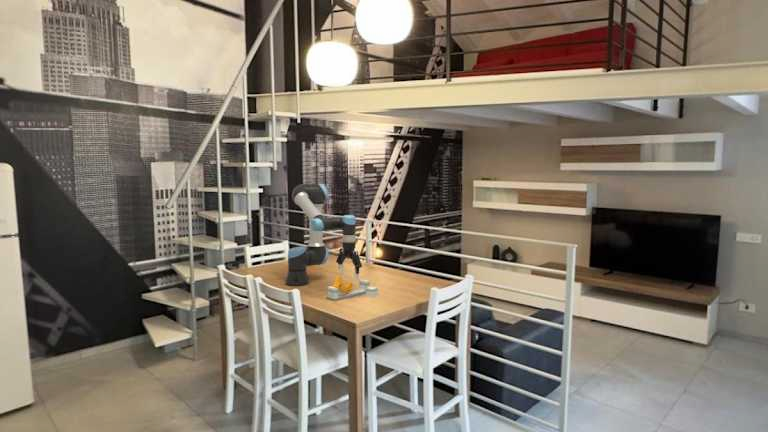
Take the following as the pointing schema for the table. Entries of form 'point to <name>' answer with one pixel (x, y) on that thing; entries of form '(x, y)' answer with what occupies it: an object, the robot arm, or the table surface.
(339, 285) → the orange irregular piece
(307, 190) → the robot arm
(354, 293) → the din board
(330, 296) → the module
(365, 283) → the module
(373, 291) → the module
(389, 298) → the table surface
